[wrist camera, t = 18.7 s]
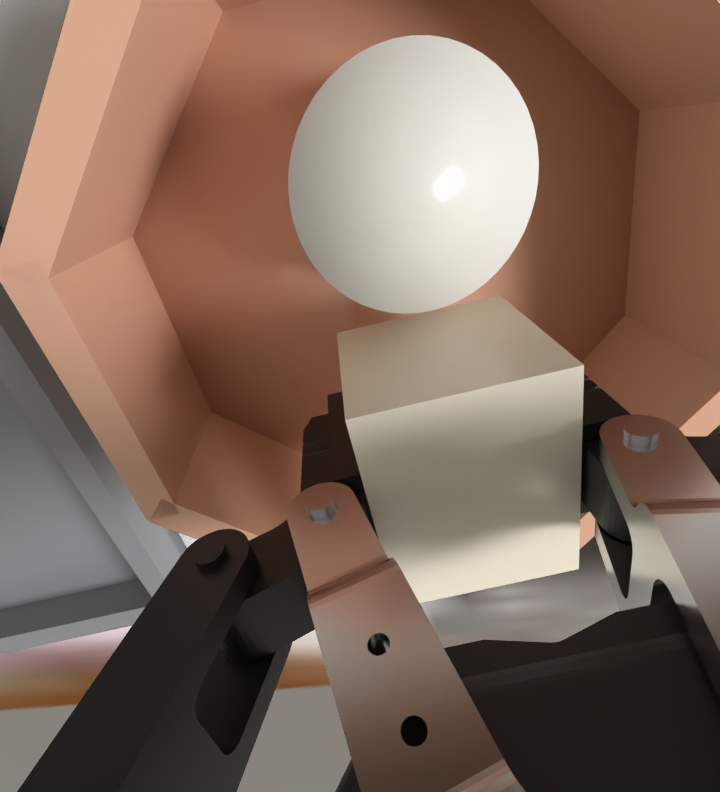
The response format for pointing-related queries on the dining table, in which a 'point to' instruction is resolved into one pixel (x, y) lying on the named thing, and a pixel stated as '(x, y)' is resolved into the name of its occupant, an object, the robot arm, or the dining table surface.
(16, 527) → the parts tray
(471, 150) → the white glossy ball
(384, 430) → the sandy stone
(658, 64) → the bowl
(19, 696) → the dining table surface
